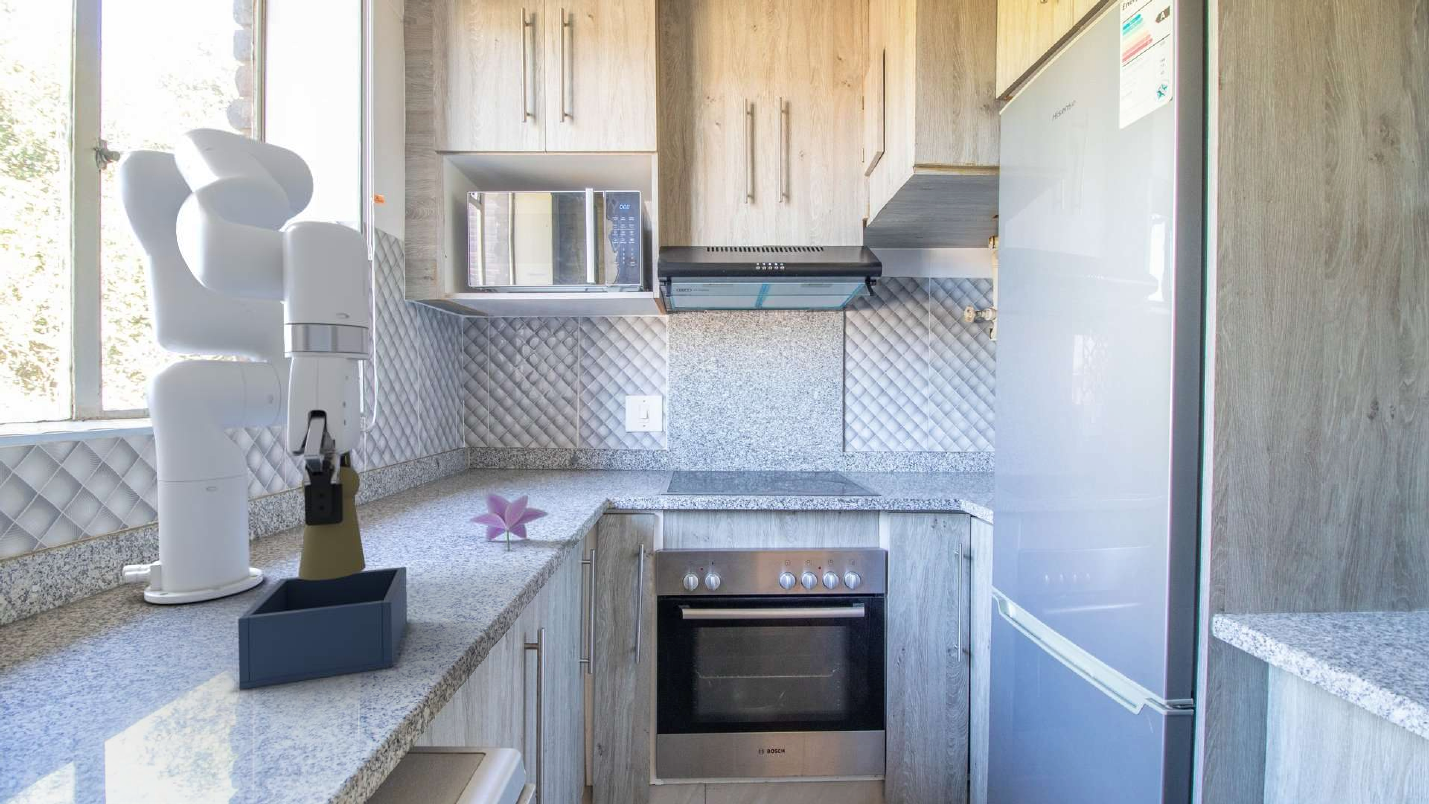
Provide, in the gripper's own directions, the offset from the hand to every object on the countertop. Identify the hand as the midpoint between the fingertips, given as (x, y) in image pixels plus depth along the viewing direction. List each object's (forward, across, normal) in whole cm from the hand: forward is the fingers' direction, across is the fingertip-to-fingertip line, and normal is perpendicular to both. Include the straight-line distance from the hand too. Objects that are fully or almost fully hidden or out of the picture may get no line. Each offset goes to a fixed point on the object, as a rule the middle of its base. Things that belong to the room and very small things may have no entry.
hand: (331, 516), depth 64 cm
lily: (+15, -39, +19) cm, 46 cm away
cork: (+6, 0, 0) cm, 6 cm away
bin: (+14, 0, 0) cm, 14 cm away
